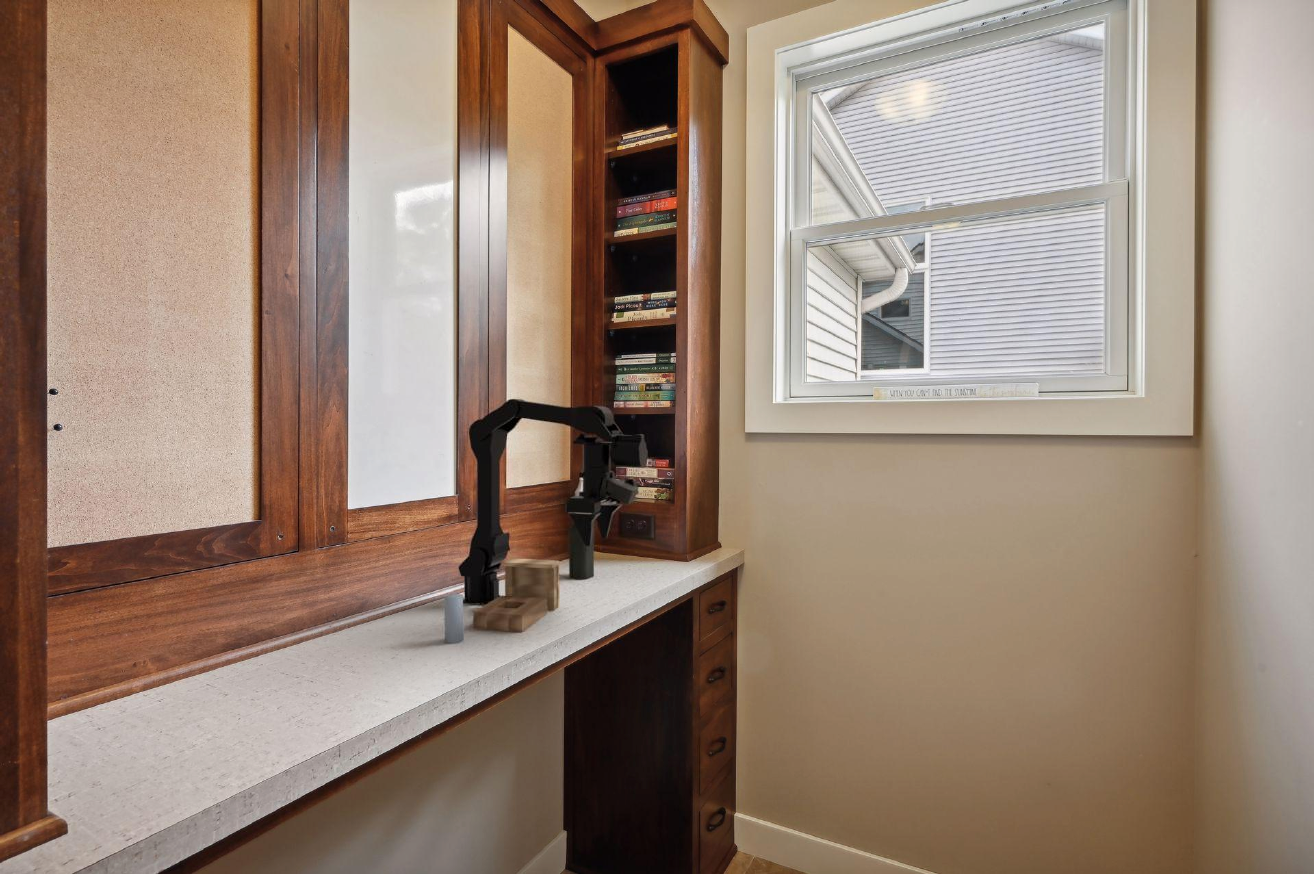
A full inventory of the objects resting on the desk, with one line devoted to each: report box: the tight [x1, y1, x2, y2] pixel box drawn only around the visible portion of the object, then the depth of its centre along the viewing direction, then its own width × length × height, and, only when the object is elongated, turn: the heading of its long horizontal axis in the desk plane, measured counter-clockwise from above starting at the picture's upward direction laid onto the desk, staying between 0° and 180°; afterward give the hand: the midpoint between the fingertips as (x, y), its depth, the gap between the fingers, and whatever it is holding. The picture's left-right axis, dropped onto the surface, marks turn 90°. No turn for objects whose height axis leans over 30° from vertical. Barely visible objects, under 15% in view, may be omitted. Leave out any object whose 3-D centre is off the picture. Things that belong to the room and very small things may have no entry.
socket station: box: [472, 557, 560, 633], centre depth 134 cm, size 11×18×10 cm, turn 167°
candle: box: [568, 477, 595, 581], centre depth 168 cm, size 5×5×25 cm
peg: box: [443, 593, 464, 645], centre depth 120 cm, size 3×3×8 cm
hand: (596, 541), depth 138 cm, fingers open, 9 cm apart
